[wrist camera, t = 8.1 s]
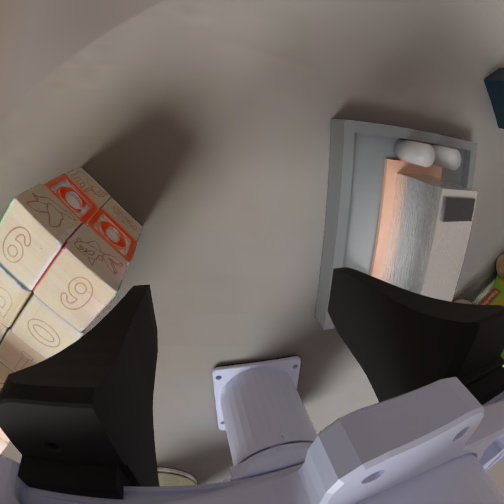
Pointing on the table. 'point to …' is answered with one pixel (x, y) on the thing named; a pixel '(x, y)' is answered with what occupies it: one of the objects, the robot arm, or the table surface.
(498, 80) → the watch
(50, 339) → the stack of blocks
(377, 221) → the tray
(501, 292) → the toy lion
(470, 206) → the drive
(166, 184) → the table surface
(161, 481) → the coffee can
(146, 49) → the table surface
